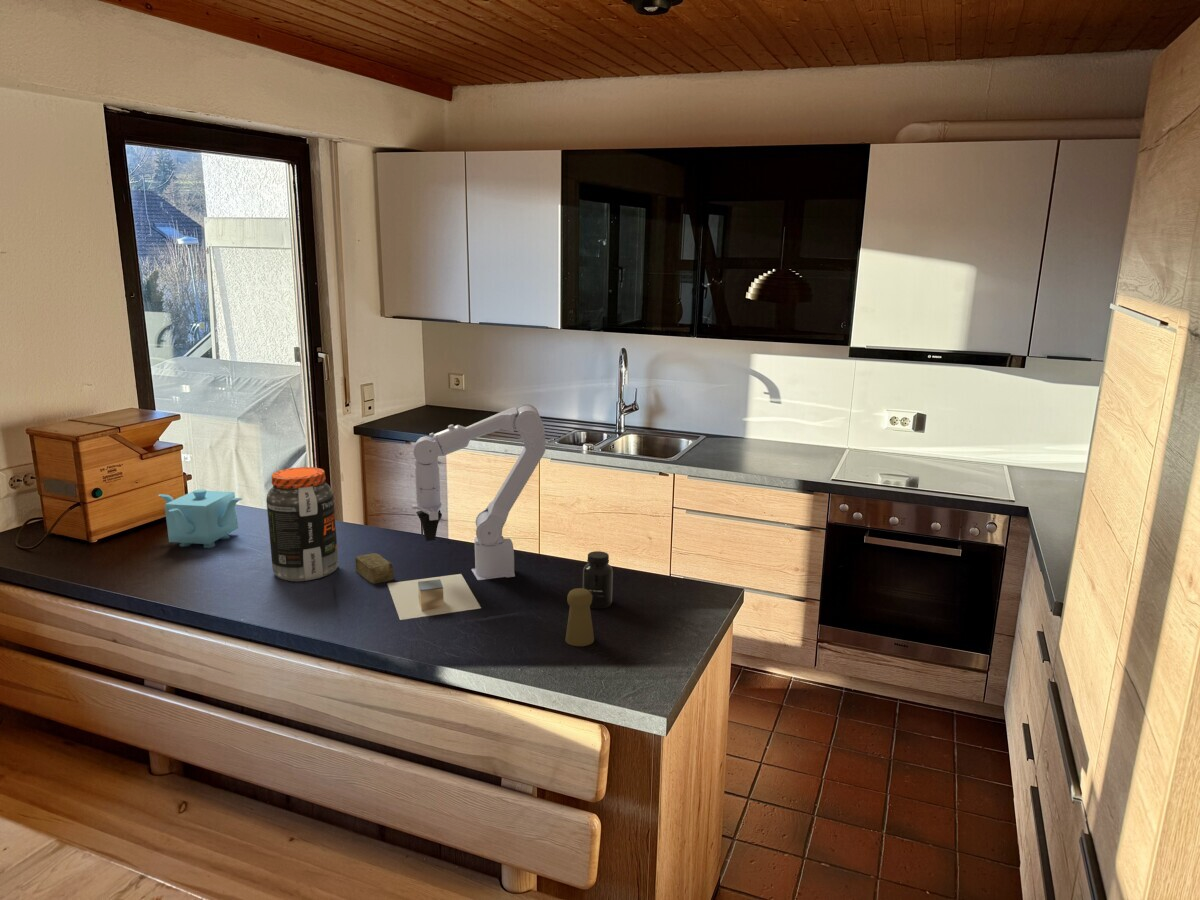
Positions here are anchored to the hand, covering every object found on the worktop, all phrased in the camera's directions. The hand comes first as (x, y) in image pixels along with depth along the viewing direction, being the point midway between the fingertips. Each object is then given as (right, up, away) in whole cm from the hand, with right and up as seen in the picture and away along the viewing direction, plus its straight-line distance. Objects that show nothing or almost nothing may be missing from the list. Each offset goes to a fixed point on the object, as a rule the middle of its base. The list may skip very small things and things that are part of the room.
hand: (430, 539), depth 207 cm
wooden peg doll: (+37, -18, -31) cm, 52 cm away
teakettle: (-68, -4, +27) cm, 74 cm away
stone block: (-14, -10, +3) cm, 18 cm away
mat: (+3, -13, -10) cm, 16 cm away
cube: (+3, -8, -16) cm, 19 cm away
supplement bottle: (+41, -14, -13) cm, 45 cm away
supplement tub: (-32, -9, +6) cm, 34 cm away
